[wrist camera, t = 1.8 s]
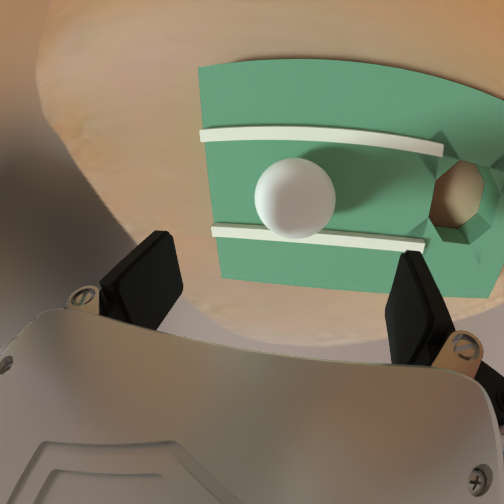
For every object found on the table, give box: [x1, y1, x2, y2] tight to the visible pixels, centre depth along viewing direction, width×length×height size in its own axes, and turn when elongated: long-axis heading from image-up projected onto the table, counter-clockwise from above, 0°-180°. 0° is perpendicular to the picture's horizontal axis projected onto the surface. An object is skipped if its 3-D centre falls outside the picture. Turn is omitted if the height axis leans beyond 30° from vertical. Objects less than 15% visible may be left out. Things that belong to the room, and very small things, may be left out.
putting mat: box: [198, 59, 504, 298], centre depth 16 cm, size 16×24×3 cm, turn 93°
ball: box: [255, 158, 336, 239], centre depth 15 cm, size 4×4×4 cm
